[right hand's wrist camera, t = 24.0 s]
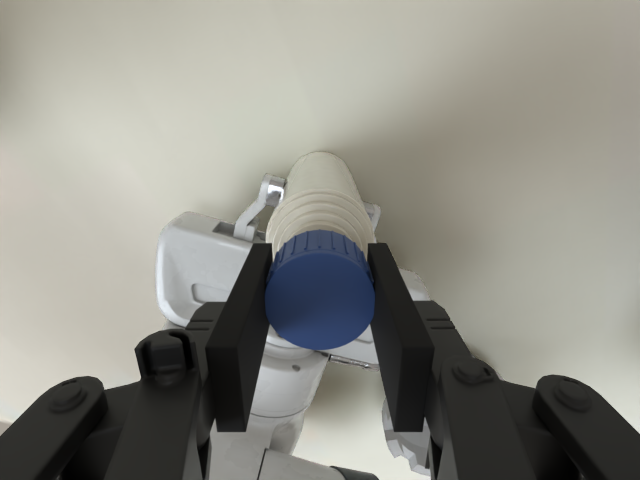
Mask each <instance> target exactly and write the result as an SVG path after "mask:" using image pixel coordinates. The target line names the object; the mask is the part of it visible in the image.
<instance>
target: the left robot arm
mask: <svg viewBox="0 0 640 480" xmlns="http://www.w3.org/2000/svg"><path fill="white" fill-rule="evenodd" d="M285 182H286V179H283V178H280V177H277V176H274V175H271V174H265V176H264V178H263V181H262V184H261V188H260V192H259V196H258V197H257V198H256V199H255V200H254V201H253V202H252V203H251V204H250V205H249V206H248V207H247V208H246V209H245V210H244V211H243V212H242V214H241V215H240V217H239V218H238V219H237V221H236V224H234V223H230V222H226V221H222V220H219V219H215V218H211V217H208V216H204V215H200V214H197V213H193V212H185V213H183V214H181V215H179V216H178V217H176V218H175V219H173V220H172V221H170V222H169V223H168V224H167V225H166V226H165V227H164V228H163V229H162V231H161V233H160V235H159V238H158V244H157V252H156V268H155V287H156V299H157V303H158V306H159V309H160V310H161V312H162V314H163V315H164V316H165V317H166V318H167V321H166V322H165V324H164V327H163V329H162V330H166V329H184V330H185V327H186V326H187V324H188V322H190V319H191V317H192V316H193V314H194V312H195V310H197V309H198V308H199V307H201V306H202V305H203V304H204V303H206V302H226V301H227V299H228V297H229V295H230V292H231V290H232V288H233V286H234V284H235V282H236V279H237V277H238V275H239V273H240V271H241V269H242V267H243V264H244V262H245V260H246V258H247V256H248V254H249V252H250V249H251V247H252V245H253V243H266V232H263V231H260V230H257V229H258V225H259V220H260V219H259V217H255V216H256V215H257V214H258V213H259V212H260V211H261V210H262V209H263V208H264V207H265V206H266V205H269V206H273V207H275V206H276V204H277V201H278V199H279V197H280V194H281V192H282V190H283V187H284V185H285ZM363 204H364V206H365V208H366V211H367V213H368V215H369V218H370V220H371V223H372V226H373V231H374V232H375V229H376V226H377V224H378V221H379V218H380V215H381V209H380V207H379V206H378V205H375V204H371V203H368V202H364V201H363ZM374 243H377V242H376V237H375V234H374ZM398 269H399V271H400V274H401V276H402V278H403V280H404V282H405V284H406V286H407V289H408V291H409V293H410V295H411V297H412V299H413V301H430V297H429V294H428V292H427V289H426V287H425V285H424V283H423V282H422V280H421V279H420V277H419V276H418V275H417V274H416V273H414V272H412V271H408V270H404V269H401V268H398ZM328 361H331V362H334V363H339V364H343V365H349V366H356V367H361V368H363V369H365V370H368V371H378V370H379V369H380V367H379V363H378V358H377V354H376V349H375V345H374V340H373V336H372V331H371V327H370V324H369V326H368V327H367V329H366V330H365V331H364V332H363V333H362V334H361V335H360V336H359V337H358V338H356V339H355V340H353V341H352V342H350V343H348V344H346V345H344V346H341V347H338V348H334V349H329V350H311V349H305V348H302V347H299V346H296V345H294V344H292V343H290V342H288V341H286V340H285V339H284V338H282V337H281V336H280V335H279V334H278V333H277V332H276V331H275V330H274V329H273V327H272V326H271V324H270V326H269V330H268V335H267V339H266V344H265V348H264V353H263V357H262V362H261V366H260V371H259V375H258V380H257V384H256V389H255V393H254V398H253V402H252V407H251V411H250V416H249V420H248V425H247V429H246V432H217V428H216V421H215V419H214V422H213V425H212V428H211V432H210V438H211V445H212V452H211V463H210V474H209V480H379V479H378V478H377V477H376V476H375V475H374V474H371V473H366V472H361V471H356V470H351V469H346V468H341V467H336V466H329V467H328V466H325V465H322V464H318V463H315V462H312V461H308V460H305V459H302V458H298V457H295V456H292V453H293V451H294V449H295V446H296V444H297V441H298V439H299V436H300V434H301V431H302V427H303V423H304V412H305V411H306V409H307V408H308V407H309V406H310V404H311V402H312V401H313V398H314V396H315V394H316V391H317V388H318V386H319V383H320V380H321V378H322V375H323V372H324V370H325V367H326V364H327V362H328Z"/></svg>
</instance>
